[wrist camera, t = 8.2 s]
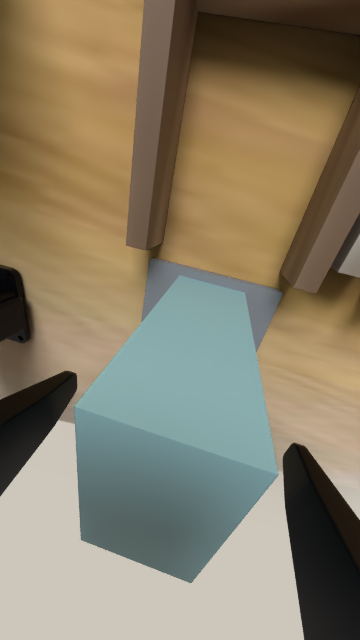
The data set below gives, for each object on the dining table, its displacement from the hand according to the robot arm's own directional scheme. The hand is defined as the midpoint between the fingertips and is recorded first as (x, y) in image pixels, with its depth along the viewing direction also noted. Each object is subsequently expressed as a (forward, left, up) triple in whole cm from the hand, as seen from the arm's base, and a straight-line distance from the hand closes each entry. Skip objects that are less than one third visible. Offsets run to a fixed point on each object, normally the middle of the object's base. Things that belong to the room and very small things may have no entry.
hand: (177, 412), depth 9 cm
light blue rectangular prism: (0, 0, -7) cm, 7 cm away
